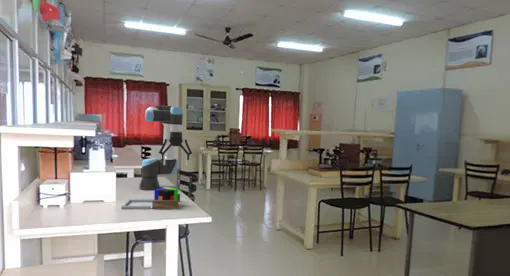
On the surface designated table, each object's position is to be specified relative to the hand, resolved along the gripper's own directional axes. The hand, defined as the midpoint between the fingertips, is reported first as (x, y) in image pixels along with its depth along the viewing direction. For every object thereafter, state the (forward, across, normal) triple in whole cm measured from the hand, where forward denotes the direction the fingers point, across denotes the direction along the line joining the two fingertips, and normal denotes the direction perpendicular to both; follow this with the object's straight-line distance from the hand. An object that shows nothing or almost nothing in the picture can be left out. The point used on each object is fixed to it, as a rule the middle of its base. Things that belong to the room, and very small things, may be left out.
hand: (175, 165), depth 204 cm
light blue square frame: (+25, -21, 0) cm, 33 cm away
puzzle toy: (+26, -5, 0) cm, 26 cm away
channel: (+25, -5, 0) cm, 26 cm away
